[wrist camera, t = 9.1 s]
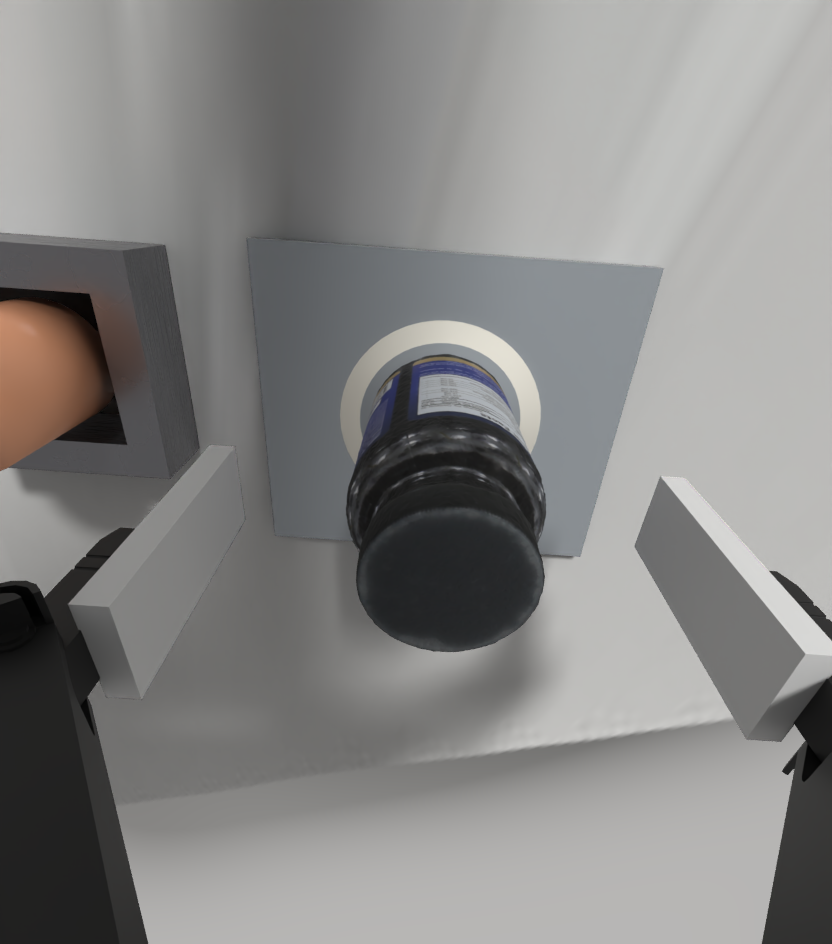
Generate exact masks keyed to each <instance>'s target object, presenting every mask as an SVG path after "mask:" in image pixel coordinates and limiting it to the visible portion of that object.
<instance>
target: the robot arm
mask: <svg viewBox="0 0 832 944" xmlns="http://www.w3.org/2000/svg"><path fill="white" fill-rule="evenodd" d="M244 521H245V513H244V506H243V498H242V491H241V484H240V477H239V470H238V463H237V455H236V448H235V446H222V445H209V447H208V448H207V449H206V450H205V451H204V452H203V453H202V454H201V456H200V457H199V458H198V459H197V460H196V461H195V462H194V463H193V465H192V466H191V467H190V468H189V469H188V470H187V471H186V472H185V474H184V475H183V476H182V477H181V478H180V479H179V480H178V481H177V482H176V484H175V485H174V486H173V487H172V488H171V489H170V490H169V491H168V493H167V494H166V495H165V496H164V497H163V498H162V499H161V500H160V502H159V503H158V504H157V505H156V506H155V507H154V508H153V509H152V511H151V512H150V513H149V514H148V515H147V516H146V517H145V518H144V519H143V521H142V522H141V523H140V524H139V525H138V526H137V527H136V528H135V529H131V528H119V529H118V530H116V531H114V532H113V533H111V534H109V535H108V536H106V537H104V538H102V539H101V540H100V541H99V542H98V543H97V544H96V545H95V546H94V547H93V548H92V549H91V550H90V551H89V552H88V553H87V554H86V557H83V558H82V559H81V560H80V561H79V562H78V563H77V564H76V565H75V569H72V570H71V571H70V572H69V573H68V574H67V575H66V576H65V577H64V578H63V579H62V580H61V581H60V582H59V583H58V584H57V585H56V586H55V587H54V588H53V589H52V590H51V591H50V592H49V593H48V594H47V596H46V597H45V598H44V597H43V595H42V593H41V591H40V589H39V588H38V586H37V585H36V584H34V583H31V582H28V581H9V582H5V583H0V944H148V941H147V937H146V932H145V928H144V924H143V920H142V916H141V911H140V907H139V903H138V899H137V895H136V891H135V887H134V882H133V878H132V874H131V870H130V865H129V861H128V857H127V853H126V849H125V844H124V840H123V836H122V832H121V828H120V824H119V819H118V815H117V811H116V807H115V803H114V798H113V794H112V790H111V786H110V782H109V778H108V773H107V769H106V765H105V761H104V757H103V753H102V748H101V744H100V740H99V736H98V732H97V727H96V723H95V719H94V715H93V711H92V707H91V704H90V701H89V699H88V695H89V694H90V692H91V691H92V689H93V688H94V686H95V685H96V683H97V682H98V681H100V684H101V686H102V688H103V691H104V693H105V696H106V697H110V698H125V699H140V700H142V698H143V697H144V695H145V693H146V691H147V690H148V688H149V686H150V684H151V683H152V681H153V679H154V677H155V676H156V674H157V672H158V671H159V669H160V667H161V665H162V664H163V662H164V660H165V658H166V657H167V655H168V653H169V651H170V650H171V648H172V646H173V644H174V643H175V641H176V639H177V638H178V636H179V634H180V632H181V631H182V629H183V627H184V625H185V624H186V622H187V620H188V618H189V617H190V615H191V613H192V612H193V610H194V608H195V606H196V605H197V603H198V601H199V599H200V598H201V596H202V594H203V592H204V591H205V589H206V587H207V585H208V584H209V582H210V580H211V579H212V577H213V575H214V573H215V572H216V570H217V568H218V566H219V565H220V563H221V561H222V559H223V558H224V556H225V554H226V552H227V551H228V549H229V547H230V546H231V544H232V542H233V540H234V539H235V537H236V535H237V533H238V532H239V530H240V528H241V526H242V525H243V523H244ZM634 547H635V548H636V550H637V552H638V554H639V555H640V557H641V559H642V560H643V562H644V564H645V566H646V567H647V569H648V571H649V573H650V574H651V576H652V578H653V579H654V581H655V583H656V585H657V586H658V588H659V590H660V592H661V593H662V595H663V597H664V598H665V600H666V602H667V604H668V605H669V607H670V609H671V611H672V612H673V614H674V616H675V617H676V619H677V621H678V623H679V624H680V626H681V628H682V630H683V631H684V633H685V635H686V636H687V638H688V640H689V642H690V643H691V645H692V647H693V649H694V650H695V652H696V654H697V655H698V657H699V659H700V661H701V662H702V664H703V666H704V668H705V669H706V671H707V673H708V674H709V676H710V678H711V680H712V681H713V683H714V685H715V687H716V688H717V690H718V692H719V693H720V695H721V697H722V699H723V700H724V702H725V704H726V706H727V707H728V709H729V711H730V712H731V714H732V716H733V718H734V719H735V721H736V723H737V725H738V726H739V728H740V730H741V731H742V733H743V735H744V737H745V738H746V739H747V740H762V741H777V742H781V741H782V740H783V739H784V737H785V736H786V734H787V733H788V732H789V731H790V729H791V728H792V727H793V725H794V724H795V726H796V727H797V728H798V730H799V731H800V733H801V734H802V736H803V737H804V739H805V740H806V741H805V742H804V743H803V744H802V746H801V747H800V748H799V750H798V751H797V752H796V753H795V754H794V756H793V757H792V758H791V759H790V761H789V762H788V763H787V764H786V766H785V767H784V769H783V771H782V772H783V773H785V774H787V775H788V774H789V773H790V772H791V771H792V770H793V769H795V770H794V775H793V780H792V786H791V791H790V796H789V802H788V807H787V812H786V818H785V823H784V828H783V834H782V839H781V845H780V850H779V855H778V860H777V866H776V871H775V877H774V882H773V887H772V892H771V898H770V903H769V908H768V914H767V919H766V924H765V930H764V935H763V941H762V944H832V622H831V621H830V620H829V619H826V615H825V614H824V613H823V612H822V611H821V610H820V609H819V608H818V607H817V606H814V605H813V601H812V600H811V599H810V598H809V597H808V596H807V595H806V594H805V593H804V592H803V591H802V590H801V589H800V588H799V587H798V586H797V585H796V584H794V583H793V582H791V581H790V580H788V579H787V578H786V577H784V576H783V575H781V574H780V573H778V572H777V571H768V570H767V568H766V567H765V566H764V565H763V564H762V563H761V562H760V561H759V560H758V558H757V557H756V556H755V555H754V554H753V553H752V552H751V551H750V550H749V548H748V547H747V546H746V545H745V544H744V543H743V542H742V541H741V540H740V538H739V537H738V536H737V535H736V534H735V533H734V532H733V531H732V530H731V528H730V527H729V526H728V525H727V524H726V523H725V522H724V521H723V520H722V518H721V517H720V516H719V515H718V514H717V513H716V512H715V511H714V510H713V508H712V507H711V506H710V505H709V504H708V503H707V502H706V501H705V500H704V498H703V497H702V496H701V495H700V494H699V493H698V492H697V491H696V490H695V488H694V487H693V486H692V485H691V484H690V483H689V482H688V481H687V479H686V478H680V477H666V476H660V479H659V481H658V484H657V487H656V489H655V492H654V495H653V497H652V500H651V503H650V506H649V508H648V511H647V514H646V516H645V519H644V522H643V524H642V527H641V530H640V533H639V535H638V538H637V541H636V543H635V546H634Z"/></svg>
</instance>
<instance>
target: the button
mask: <svg viewBox="0 0 832 944" xmlns="http://www.w3.org/2000/svg"><path fill="white" fill-rule="evenodd" d="M113 395H114V389H113V385H112V381H111V377H110V373H109V369H108V365H107V361H106V357H105V353H104V349H103V345H102V341H101V337H100V334H99V333H98V332H97V331H96V330H95V329H94V327H93V326H92V325H91V324H89V323H88V322H87V321H86V320H85V319H84V318H83V317H81V316H80V315H79V314H78V313H76V312H74V311H73V310H71V309H70V308H68V307H66V306H64V305H62V304H60V303H57V302H55V301H52V300H48V299H45V298H39V297H21V298H15V299H11V300H6V301H1V302H0V471H1V470H4V469H6V468H8V467H10V466H12V465H13V464H15V463H16V462H18V461H20V460H21V459H23V458H25V457H26V456H28V455H30V454H31V453H33V452H34V451H36V450H38V449H39V448H41V447H43V446H44V445H46V444H48V443H49V442H51V441H52V440H54V439H56V438H57V437H59V436H61V435H62V434H64V433H66V432H67V431H69V430H71V429H72V428H74V427H75V426H77V425H79V424H80V423H82V422H84V421H85V420H87V419H89V418H90V417H92V416H93V415H95V414H97V413H98V412H100V411H101V410H103V409H104V408H105V407H106V406H107V405H108V404H109V402H110V401H111V400H112V397H113Z"/></svg>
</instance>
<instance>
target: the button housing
mask: <svg viewBox="0 0 832 944" xmlns="http://www.w3.org/2000/svg"><path fill="white" fill-rule="evenodd" d="M0 287H6V288H20V289H33V290H47V291H61V292H75V293H89V294H90V297H91V301H92V305H93V309H94V313H95V317H96V321H97V325H98V329H99V333H100V337H101V341H102V345H103V349H104V353H105V357H106V361H107V365H108V369H109V373H110V377H111V381H112V385H113V389H114V393H115V397H116V401H117V405H118V409H119V413H120V415H117V414H102V413H97V414H95V415H93V416H92V417H90V418H89V419H87V420H85V421H84V422H82V423H80V424H79V425H77V426H75V427H74V428H72V429H71V430H69V431H67V432H66V433H64V434H62V435H61V436H59V437H57V438H56V439H54V440H52V441H51V442H49V443H48V444H46V445H44V446H43V447H41V448H39V449H38V450H36V451H34V452H33V453H31V454H30V455H28V456H26V457H25V458H23V459H21V460H20V461H18V462H16V463H15V464H13V465H12V466H10V467H8V468H21V469H35V470H50V471H64V472H78V473H93V474H107V475H122V476H136V477H150V478H165V479H170V478H171V477H172V476H173V475H174V474H175V473H176V472H177V471H178V470H179V469H180V468H181V467H182V466H183V465H184V464H185V463H186V462H187V461H188V460H189V459H190V458H191V457H192V456H193V455H194V454H195V453H196V452H197V451H198V450H199V443H198V437H197V431H196V425H195V419H194V413H193V407H192V402H191V396H190V390H189V384H188V378H187V372H186V366H185V360H184V355H183V349H182V343H181V337H180V331H179V325H178V319H177V313H176V308H175V302H174V296H173V290H172V284H171V278H170V272H169V266H168V260H167V255H166V249H165V245H160V244H146V243H133V242H119V241H105V240H91V239H78V238H64V237H50V236H37V235H23V234H9V233H0Z"/></svg>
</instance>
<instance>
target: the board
mask: <svg viewBox="0 0 832 944" xmlns="http://www.w3.org/2000/svg"><path fill="white" fill-rule="evenodd" d="M247 247H248V258H249V268H250V279H251V289H252V300H253V310H254V321H255V331H256V342H257V353H258V363H259V374H260V384H261V395H262V405H263V416H264V426H265V437H266V447H267V458H268V468H269V479H270V489H271V500H272V510H273V521H274V531H275V536H287V537H301V538H316V539H330V540H345V541H353V539H352V538H351V535H350V530H349V527H348V523H347V516H346V505H347V492H348V486H349V483H350V481H351V478H352V475H353V472H354V468H355V465H356V461H357V457H358V452H359V450H360V447H361V443H362V440H363V436H364V433H365V430H366V426H367V423H368V419H369V416H370V412H371V409H372V405H373V402H374V400H375V398H376V395H377V393H378V390H379V389H380V388H381V386H382V385H383V383H384V382H385V380H386V379H387V378H388V377H389V376H390V375H391V374H392V373H393V372H394V371H396V370H397V369H398V368H400V367H401V366H403V365H405V364H408V363H409V362H411V361H414V360H417V359H420V358H422V357H424V356H429V355H439V354H451V355H456V356H458V357H462V358H465V359H468V360H470V361H473V362H475V363H477V364H479V365H480V366H482V367H483V368H484V369H486V370H487V371H488V372H489V373H490V374H491V375H493V376H494V377H495V379H496V380H497V382H498V383H499V385H500V386H501V388H502V390H503V392H504V394H505V396H506V398H507V401H508V403H509V406H510V408H511V410H512V413H513V415H514V417H515V420H516V422H517V424H518V427H519V429H520V431H521V434H522V436H523V438H524V441H525V443H526V445H527V448H528V450H529V452H530V454H531V457H532V459H533V461H534V464H535V465H536V468H537V469H538V471H539V473H540V476H541V478H542V484H543V488H544V493H545V498H546V518H545V522H544V527H543V531H542V534H541V537H540V539H539V542H538V548H539V552H540V554H548V555H563V556H578V557H580V555H581V552H582V548H583V545H584V541H585V538H586V535H587V531H588V528H589V524H590V521H591V517H592V514H593V510H594V507H595V504H596V500H597V497H598V493H599V490H600V486H601V483H602V479H603V476H604V472H605V469H606V466H607V462H608V459H609V455H610V452H611V448H612V445H613V441H614V438H615V435H616V431H617V428H618V424H619V421H620V417H621V414H622V410H623V407H624V404H625V400H626V397H627V393H628V390H629V386H630V383H631V379H632V376H633V373H634V369H635V366H636V362H637V359H638V355H639V352H640V348H641V345H642V341H643V338H644V335H645V331H646V328H647V324H648V321H649V317H650V314H651V310H652V307H653V304H654V300H655V297H656V293H657V290H658V286H659V283H660V279H661V276H662V273H663V268H659V267H651V266H637V265H624V264H610V263H596V262H583V261H569V260H555V259H542V258H528V257H514V256H501V255H487V254H473V253H459V252H446V251H432V250H418V249H405V248H391V247H377V246H364V245H350V244H336V243H323V242H309V241H295V240H282V239H268V238H254V237H251V238H247Z"/></svg>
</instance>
